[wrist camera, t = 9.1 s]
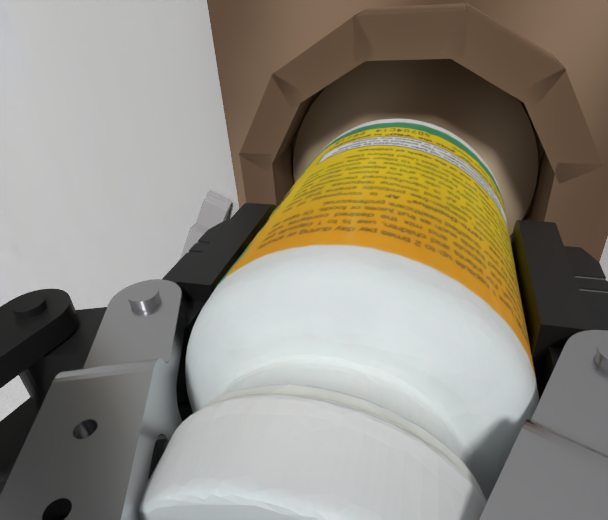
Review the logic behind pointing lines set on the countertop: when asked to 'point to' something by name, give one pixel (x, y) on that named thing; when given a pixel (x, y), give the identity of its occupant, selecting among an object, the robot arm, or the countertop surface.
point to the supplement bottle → (359, 346)
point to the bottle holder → (426, 92)
